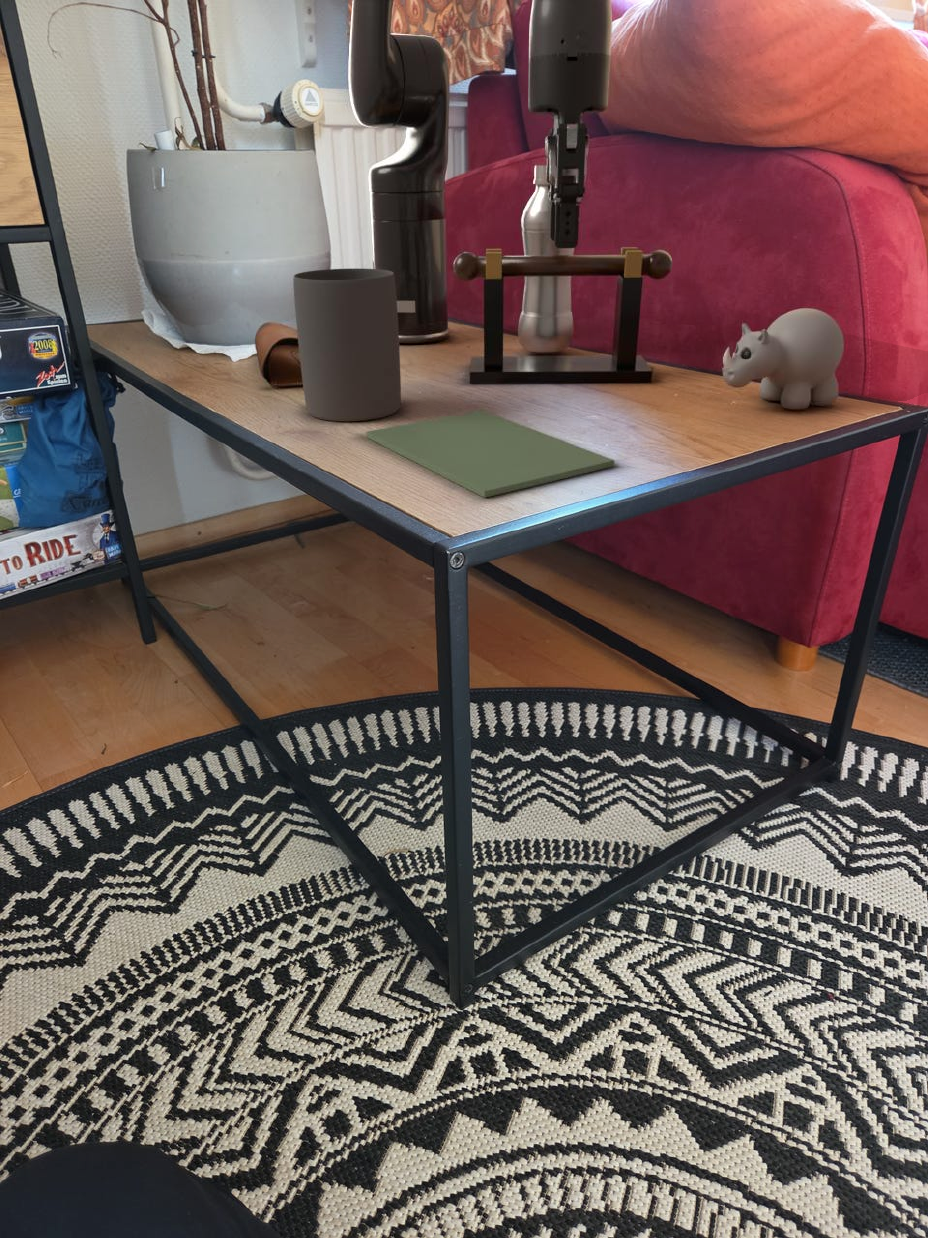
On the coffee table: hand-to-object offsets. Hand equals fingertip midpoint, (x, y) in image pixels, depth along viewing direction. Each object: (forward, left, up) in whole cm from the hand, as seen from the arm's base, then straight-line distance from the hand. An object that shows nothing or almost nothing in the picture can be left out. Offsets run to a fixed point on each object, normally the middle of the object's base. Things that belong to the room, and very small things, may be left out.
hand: (563, 244), depth 86 cm
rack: (0, 0, -13) cm, 13 cm away
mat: (+18, -22, -13) cm, 31 cm away
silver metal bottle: (-10, +6, -13) cm, 18 cm away
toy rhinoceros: (+22, +8, -13) cm, 27 cm away
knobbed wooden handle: (0, 0, -2) cm, 2 cm away
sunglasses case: (-20, -22, -13) cm, 33 cm away
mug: (-2, -24, -13) cm, 27 cm away
